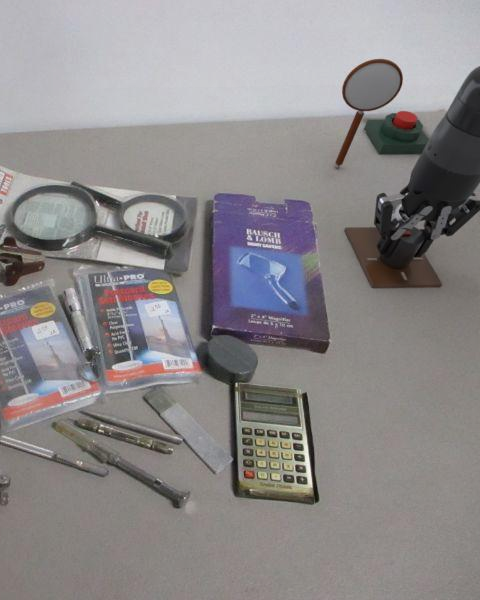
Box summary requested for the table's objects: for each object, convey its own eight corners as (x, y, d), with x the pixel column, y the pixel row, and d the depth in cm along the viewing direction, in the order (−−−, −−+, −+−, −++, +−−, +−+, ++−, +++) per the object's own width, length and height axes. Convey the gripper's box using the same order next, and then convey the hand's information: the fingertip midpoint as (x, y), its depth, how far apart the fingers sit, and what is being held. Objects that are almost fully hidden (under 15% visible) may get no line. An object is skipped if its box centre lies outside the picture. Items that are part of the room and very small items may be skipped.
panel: (401, 238, 93) (409, 225, 91) (434, 296, 86) (443, 283, 83) (339, 239, 93) (345, 226, 91) (366, 297, 85) (373, 284, 83)
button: (408, 119, 109) (412, 110, 108) (416, 130, 107) (421, 121, 105) (389, 119, 109) (393, 110, 108) (397, 130, 107) (401, 121, 105)
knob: (402, 249, 88) (419, 222, 84) (413, 269, 85) (431, 242, 81) (376, 249, 88) (391, 222, 84) (386, 269, 85) (402, 242, 81)
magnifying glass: (312, 168, 105) (354, 59, 90) (311, 162, 106) (353, 54, 91) (362, 173, 104) (413, 65, 89) (361, 167, 105) (411, 59, 90)
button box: (409, 129, 113) (418, 110, 110) (426, 154, 108) (437, 135, 105) (363, 129, 113) (371, 110, 110) (378, 154, 108) (387, 135, 105)
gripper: (414, 173, 70) (359, 273, 83) (530, 172, 71) (458, 271, 84) (390, 136, 75) (341, 236, 88) (499, 136, 75) (435, 235, 88)
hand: (398, 252), depth 86 cm, fingers closed on knob, 4 cm apart
